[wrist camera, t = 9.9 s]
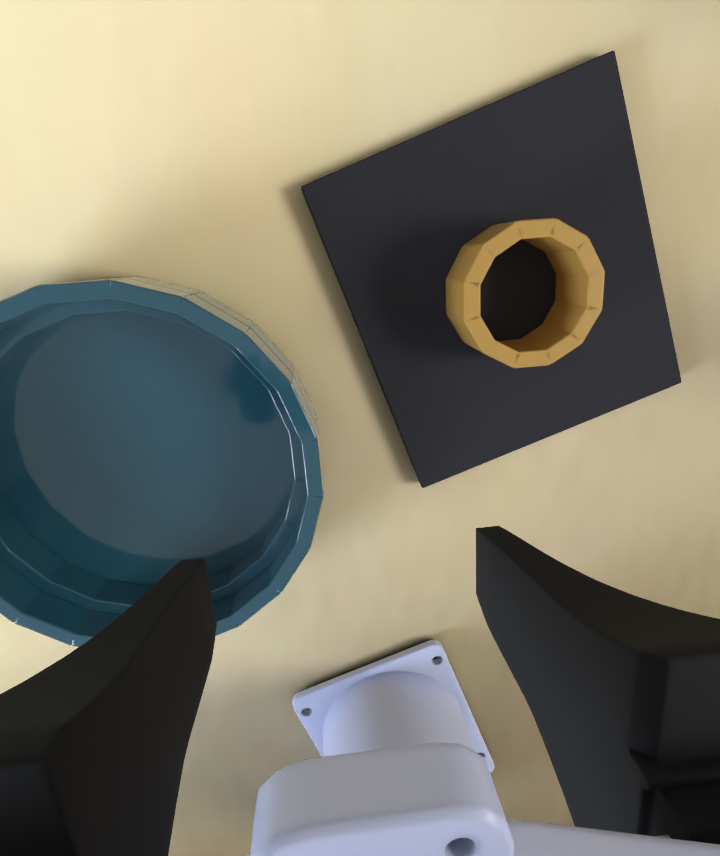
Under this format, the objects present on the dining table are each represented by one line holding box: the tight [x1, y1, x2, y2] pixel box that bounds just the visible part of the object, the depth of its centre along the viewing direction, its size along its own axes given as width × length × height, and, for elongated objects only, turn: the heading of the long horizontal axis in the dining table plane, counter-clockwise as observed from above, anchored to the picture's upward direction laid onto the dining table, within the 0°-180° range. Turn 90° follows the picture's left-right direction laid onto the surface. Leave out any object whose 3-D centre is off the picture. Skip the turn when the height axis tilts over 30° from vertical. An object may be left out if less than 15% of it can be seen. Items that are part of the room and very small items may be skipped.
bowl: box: [0, 277, 323, 647], centre depth 20 cm, size 14×14×4 cm
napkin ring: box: [446, 218, 605, 368], centre depth 20 cm, size 5×5×3 cm
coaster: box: [301, 51, 681, 488], centre depth 21 cm, size 13×12×1 cm
